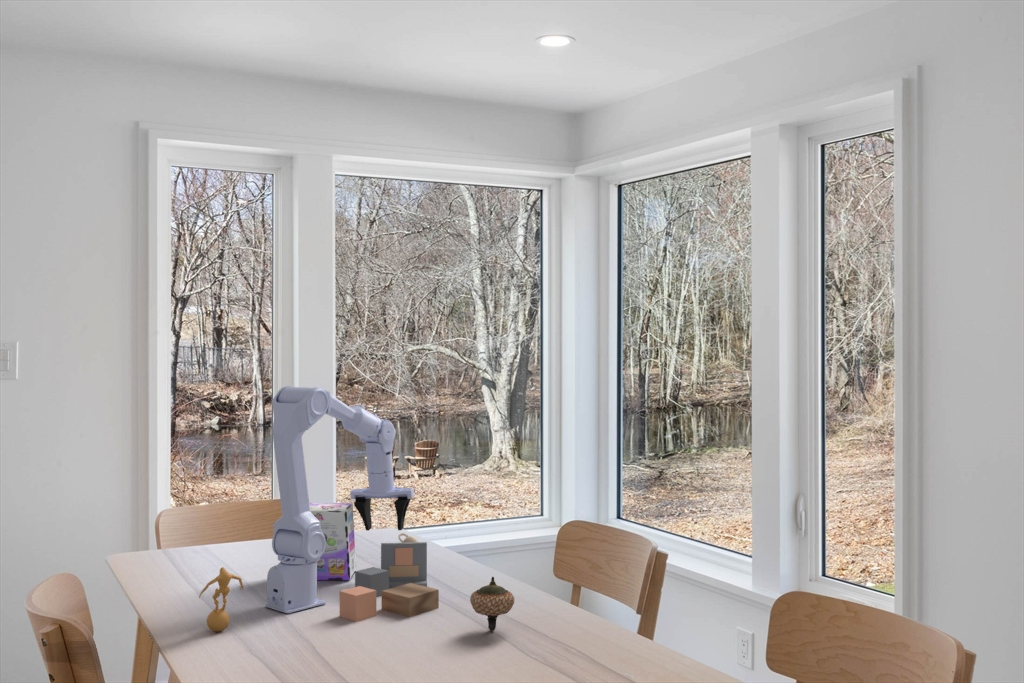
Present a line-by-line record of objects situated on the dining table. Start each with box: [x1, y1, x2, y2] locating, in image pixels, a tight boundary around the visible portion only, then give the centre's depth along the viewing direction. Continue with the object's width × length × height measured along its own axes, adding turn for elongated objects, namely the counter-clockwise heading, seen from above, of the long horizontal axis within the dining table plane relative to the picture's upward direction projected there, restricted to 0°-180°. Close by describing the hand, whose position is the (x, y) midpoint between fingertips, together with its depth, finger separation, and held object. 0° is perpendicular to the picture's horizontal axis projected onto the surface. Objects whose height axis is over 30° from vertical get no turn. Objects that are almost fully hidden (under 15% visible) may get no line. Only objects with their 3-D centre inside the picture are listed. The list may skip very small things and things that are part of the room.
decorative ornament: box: [398, 532, 419, 543], centre depth 223 cm, size 4×8×5 cm, turn 33°
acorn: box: [469, 576, 515, 632], centre depth 164 cm, size 8×8×10 cm
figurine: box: [198, 567, 244, 633], centre depth 163 cm, size 8×6×12 cm
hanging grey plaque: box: [380, 541, 428, 589], centre depth 197 cm, size 6×10×9 cm, turn 97°
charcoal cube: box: [354, 566, 390, 598], centre depth 189 cm, size 5×5×5 cm
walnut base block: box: [381, 583, 440, 618], centre depth 178 cm, size 8×8×4 cm
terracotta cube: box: [339, 586, 377, 622], centre depth 173 cm, size 5×5×5 cm
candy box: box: [309, 502, 357, 581], centre depth 201 cm, size 14×6×16 cm, turn 84°
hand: (384, 529), depth 204 cm, fingers open, 7 cm apart
